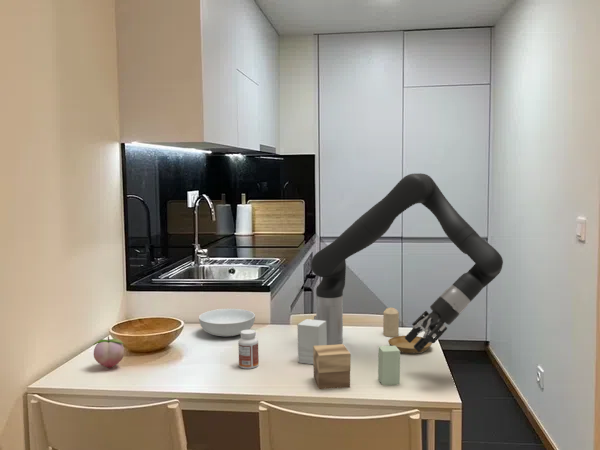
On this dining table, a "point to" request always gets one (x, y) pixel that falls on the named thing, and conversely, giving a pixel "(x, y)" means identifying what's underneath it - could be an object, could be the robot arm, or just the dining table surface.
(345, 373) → the walnut block
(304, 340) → the supplement box
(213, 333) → the serving bowl
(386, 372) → the sage block
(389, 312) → the candle
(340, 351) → the oak block
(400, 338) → the plant saucer
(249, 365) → the pill bottle
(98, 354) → the decorative fruit
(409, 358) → the dining table surface
